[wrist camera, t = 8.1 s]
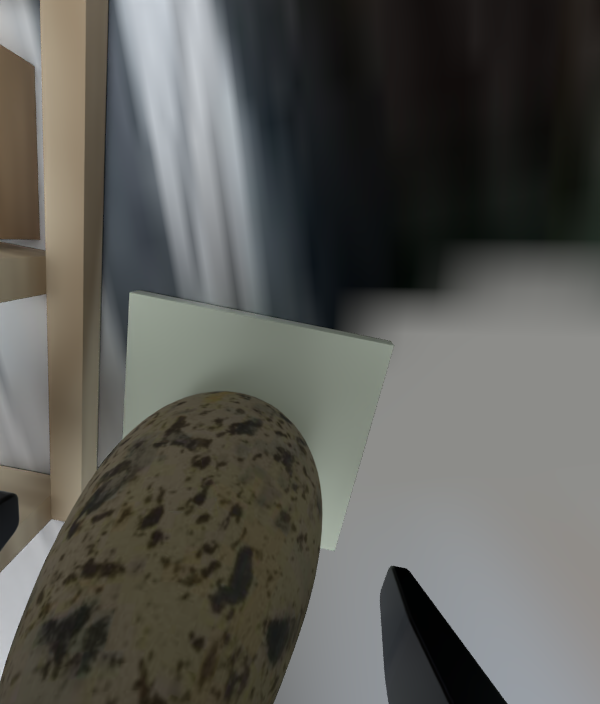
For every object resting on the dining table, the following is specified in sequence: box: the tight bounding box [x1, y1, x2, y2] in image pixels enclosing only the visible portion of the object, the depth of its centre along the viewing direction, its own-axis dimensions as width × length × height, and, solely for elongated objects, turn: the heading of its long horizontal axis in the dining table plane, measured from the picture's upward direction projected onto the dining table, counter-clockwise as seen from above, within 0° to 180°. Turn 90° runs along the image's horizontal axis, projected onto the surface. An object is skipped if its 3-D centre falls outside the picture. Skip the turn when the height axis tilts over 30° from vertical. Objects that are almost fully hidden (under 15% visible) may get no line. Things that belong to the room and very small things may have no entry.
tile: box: [122, 290, 394, 551], centre depth 13 cm, size 9×9×1 cm
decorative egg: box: [0, 391, 323, 704], centre depth 8 cm, size 6×6×10 cm
